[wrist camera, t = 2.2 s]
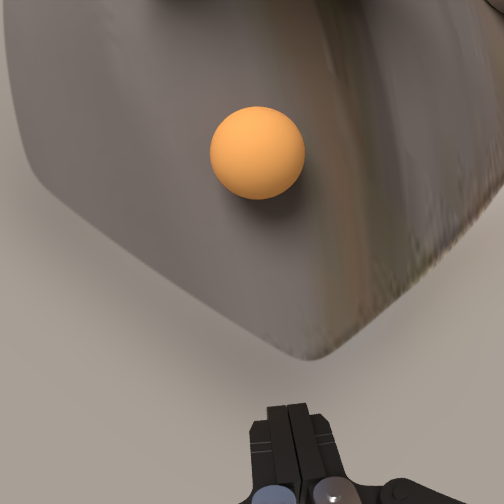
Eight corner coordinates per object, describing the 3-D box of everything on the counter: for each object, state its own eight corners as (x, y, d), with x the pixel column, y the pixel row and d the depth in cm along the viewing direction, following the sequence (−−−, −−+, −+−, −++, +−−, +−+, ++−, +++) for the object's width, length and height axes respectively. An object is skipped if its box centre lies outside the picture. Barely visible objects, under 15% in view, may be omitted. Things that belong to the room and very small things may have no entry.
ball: (210, 115, 20) (202, 103, 14) (293, 111, 20) (312, 99, 15) (216, 195, 21) (210, 210, 16) (297, 190, 21) (316, 204, 16)
